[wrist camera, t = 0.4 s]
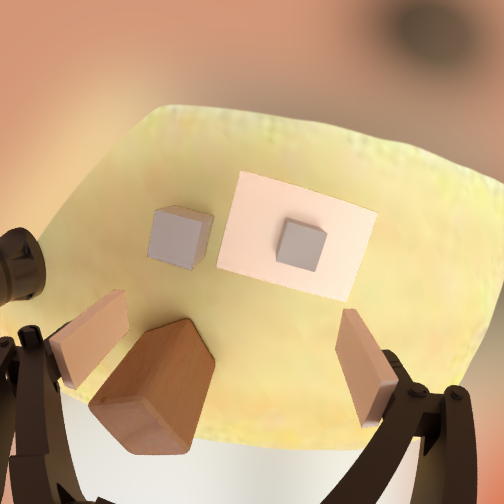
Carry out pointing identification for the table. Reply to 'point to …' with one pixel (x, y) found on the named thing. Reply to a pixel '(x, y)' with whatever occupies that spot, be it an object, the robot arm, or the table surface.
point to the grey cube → (300, 244)
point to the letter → (269, 230)
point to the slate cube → (179, 236)
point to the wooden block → (157, 391)
